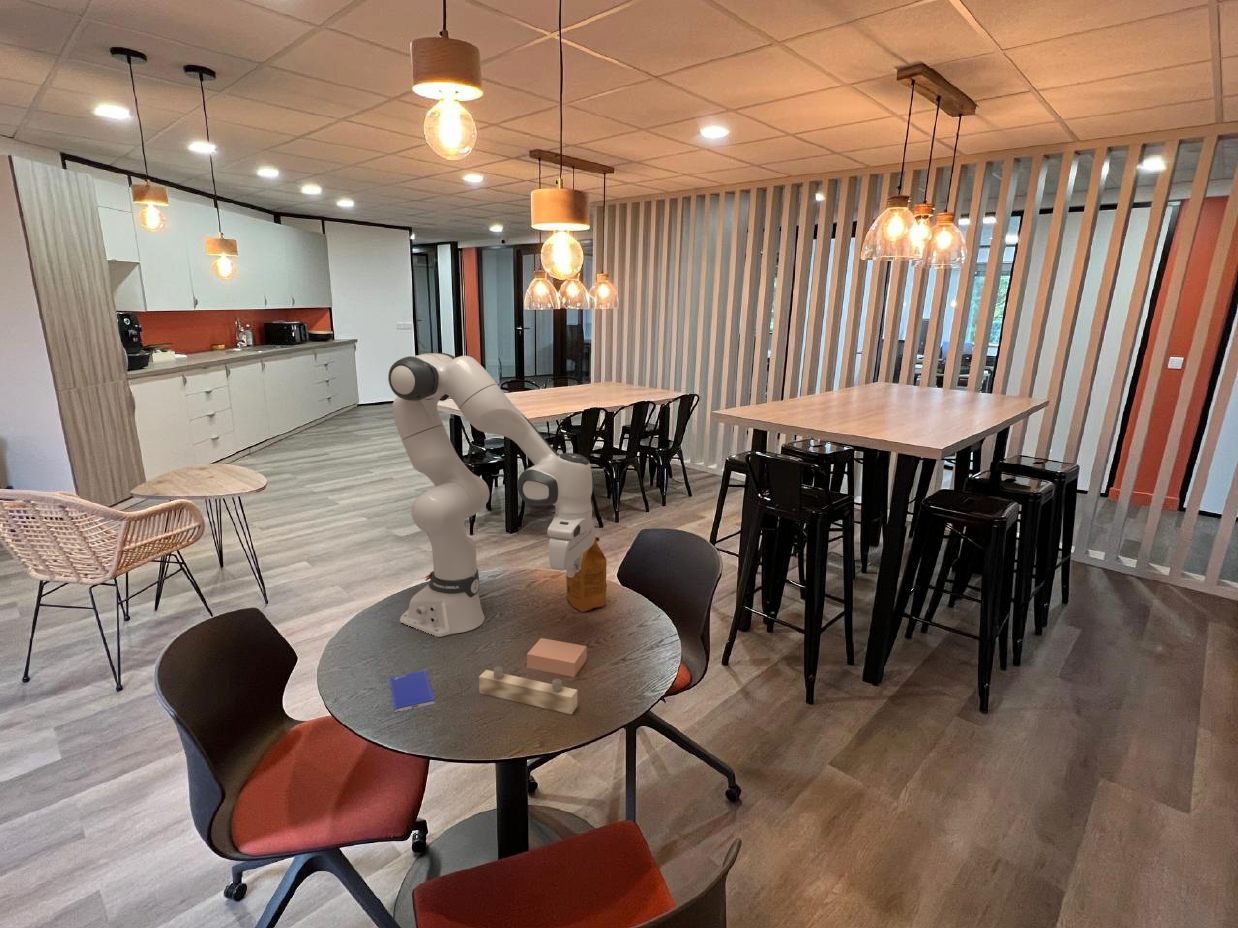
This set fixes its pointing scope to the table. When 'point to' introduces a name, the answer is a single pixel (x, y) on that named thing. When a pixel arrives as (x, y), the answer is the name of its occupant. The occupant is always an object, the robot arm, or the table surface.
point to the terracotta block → (557, 657)
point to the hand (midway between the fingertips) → (573, 573)
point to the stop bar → (528, 691)
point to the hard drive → (411, 691)
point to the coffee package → (589, 580)
